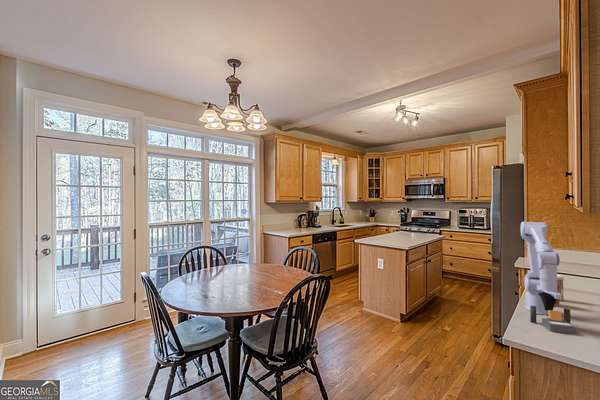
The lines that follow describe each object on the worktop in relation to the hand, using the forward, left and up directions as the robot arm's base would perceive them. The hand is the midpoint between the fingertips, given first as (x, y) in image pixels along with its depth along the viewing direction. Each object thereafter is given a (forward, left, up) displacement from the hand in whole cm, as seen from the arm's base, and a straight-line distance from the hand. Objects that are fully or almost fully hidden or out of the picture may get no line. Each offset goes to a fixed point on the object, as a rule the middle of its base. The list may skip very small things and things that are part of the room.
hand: (548, 310), depth 120 cm
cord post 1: (+1, -6, -5) cm, 8 cm away
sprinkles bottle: (-39, +23, -6) cm, 45 cm away
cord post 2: (+1, +6, -5) cm, 8 cm away
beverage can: (-29, +15, -6) cm, 33 cm away
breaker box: (+6, 0, -5) cm, 8 cm away
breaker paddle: (+5, 0, -2) cm, 6 cm away
